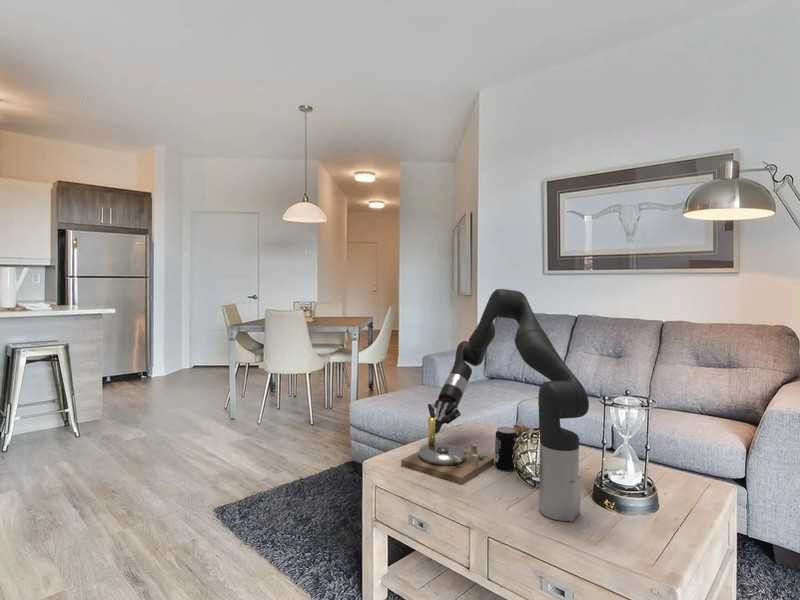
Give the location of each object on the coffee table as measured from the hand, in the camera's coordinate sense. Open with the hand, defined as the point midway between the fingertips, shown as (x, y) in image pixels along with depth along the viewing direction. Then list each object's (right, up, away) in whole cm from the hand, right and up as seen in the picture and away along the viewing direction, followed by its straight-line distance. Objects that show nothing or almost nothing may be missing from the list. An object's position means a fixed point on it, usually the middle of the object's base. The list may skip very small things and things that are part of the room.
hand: (433, 431), depth 158 cm
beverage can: (+22, -9, -10) cm, 26 cm away
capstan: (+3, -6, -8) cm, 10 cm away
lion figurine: (+34, -8, +5) cm, 36 cm away
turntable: (+4, -8, -9) cm, 12 cm away
